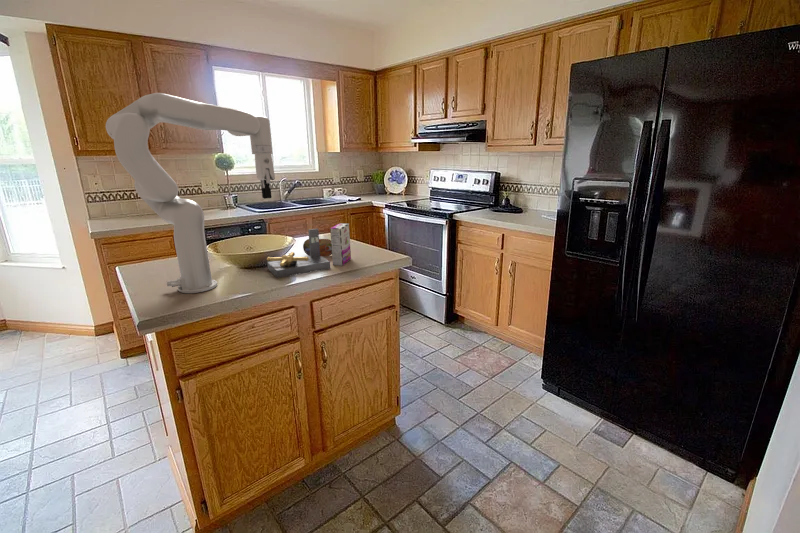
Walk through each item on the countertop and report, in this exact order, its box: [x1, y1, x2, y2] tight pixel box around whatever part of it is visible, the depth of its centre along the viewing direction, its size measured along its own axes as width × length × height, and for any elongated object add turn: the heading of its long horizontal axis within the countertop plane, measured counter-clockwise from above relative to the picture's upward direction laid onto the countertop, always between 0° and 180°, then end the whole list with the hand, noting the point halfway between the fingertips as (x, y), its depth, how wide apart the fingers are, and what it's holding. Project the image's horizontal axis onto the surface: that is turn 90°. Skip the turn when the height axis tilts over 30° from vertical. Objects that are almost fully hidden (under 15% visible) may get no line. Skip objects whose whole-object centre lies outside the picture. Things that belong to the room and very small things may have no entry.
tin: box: [302, 238, 332, 258], centre depth 176 cm, size 15×3×8 cm, turn 77°
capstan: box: [266, 251, 309, 267], centre depth 151 cm, size 17×17×4 cm
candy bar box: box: [329, 223, 352, 267], centre depth 164 cm, size 11×5×16 cm, turn 168°
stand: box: [266, 228, 331, 279], centre depth 155 cm, size 22×14×15 cm, turn 123°
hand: (267, 198), depth 151 cm, fingers closed
